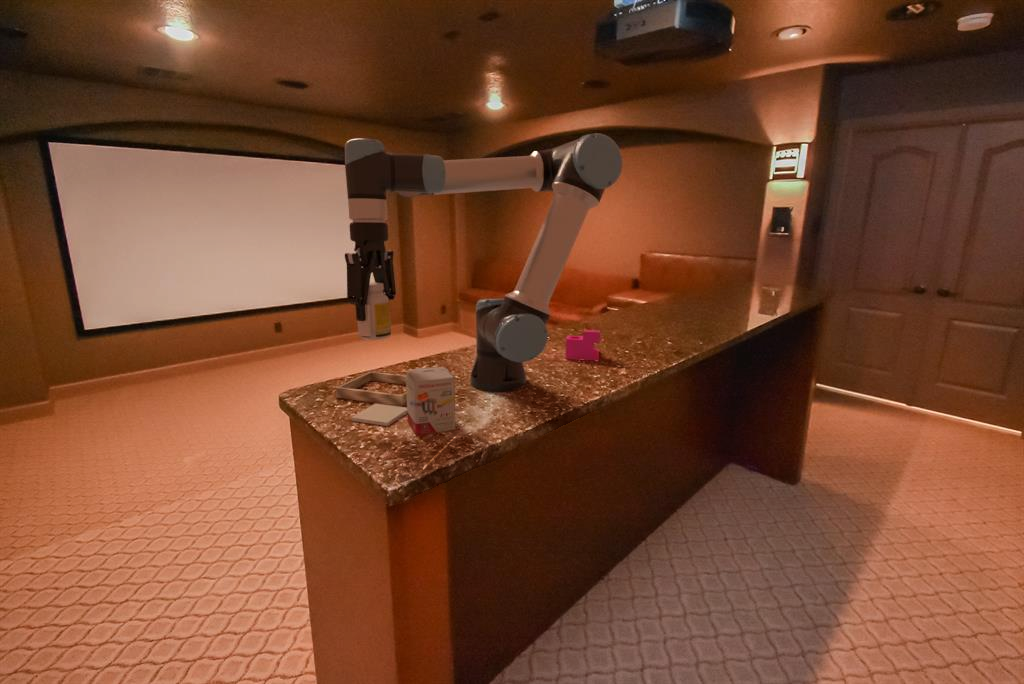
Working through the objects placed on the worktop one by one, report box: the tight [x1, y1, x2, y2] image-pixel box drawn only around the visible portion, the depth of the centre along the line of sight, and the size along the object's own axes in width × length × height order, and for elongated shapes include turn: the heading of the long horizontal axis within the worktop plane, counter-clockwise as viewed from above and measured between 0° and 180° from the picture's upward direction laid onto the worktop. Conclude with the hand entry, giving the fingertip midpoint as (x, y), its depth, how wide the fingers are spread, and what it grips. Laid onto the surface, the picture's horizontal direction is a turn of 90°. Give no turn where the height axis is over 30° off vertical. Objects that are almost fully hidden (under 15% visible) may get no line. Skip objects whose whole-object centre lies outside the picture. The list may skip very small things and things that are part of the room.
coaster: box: [350, 403, 407, 427], centre depth 106 cm, size 9×9×1 cm
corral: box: [334, 371, 407, 407], centre depth 121 cm, size 19×15×2 cm
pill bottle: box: [359, 282, 392, 341], centre depth 101 cm, size 6×6×12 cm
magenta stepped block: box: [565, 329, 601, 360], centre depth 154 cm, size 12×10×10 cm
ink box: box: [405, 366, 456, 436], centre depth 100 cm, size 9×9×12 cm
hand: (375, 332), depth 102 cm, fingers closed on pill bottle, 6 cm apart
